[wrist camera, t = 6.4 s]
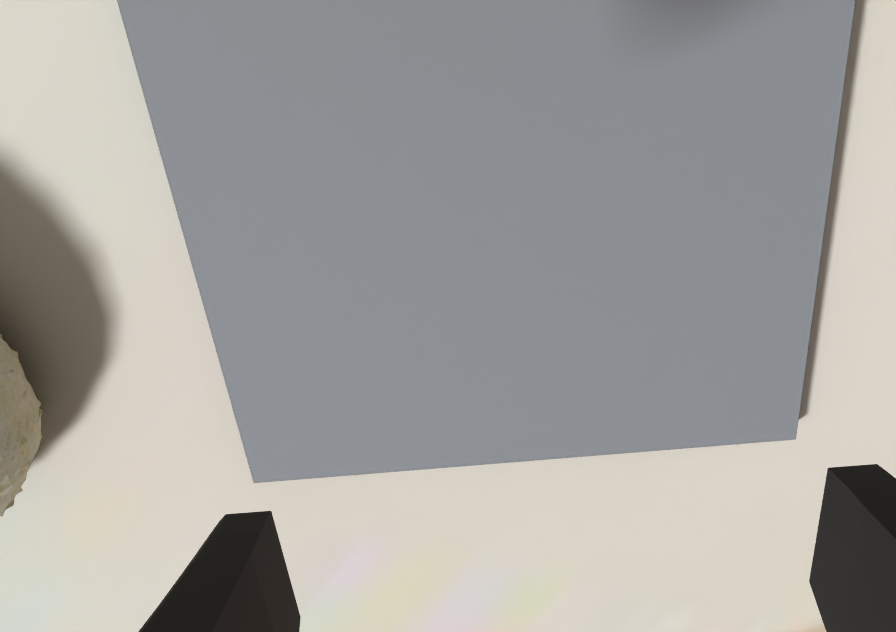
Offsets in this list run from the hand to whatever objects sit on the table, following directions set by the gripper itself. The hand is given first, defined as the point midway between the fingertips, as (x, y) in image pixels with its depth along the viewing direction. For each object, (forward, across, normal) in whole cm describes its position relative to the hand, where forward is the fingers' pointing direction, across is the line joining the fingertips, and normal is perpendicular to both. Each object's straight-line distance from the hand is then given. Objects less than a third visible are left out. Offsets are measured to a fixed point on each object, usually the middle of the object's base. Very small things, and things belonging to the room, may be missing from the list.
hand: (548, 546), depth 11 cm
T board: (+9, 0, -6) cm, 11 cm away
